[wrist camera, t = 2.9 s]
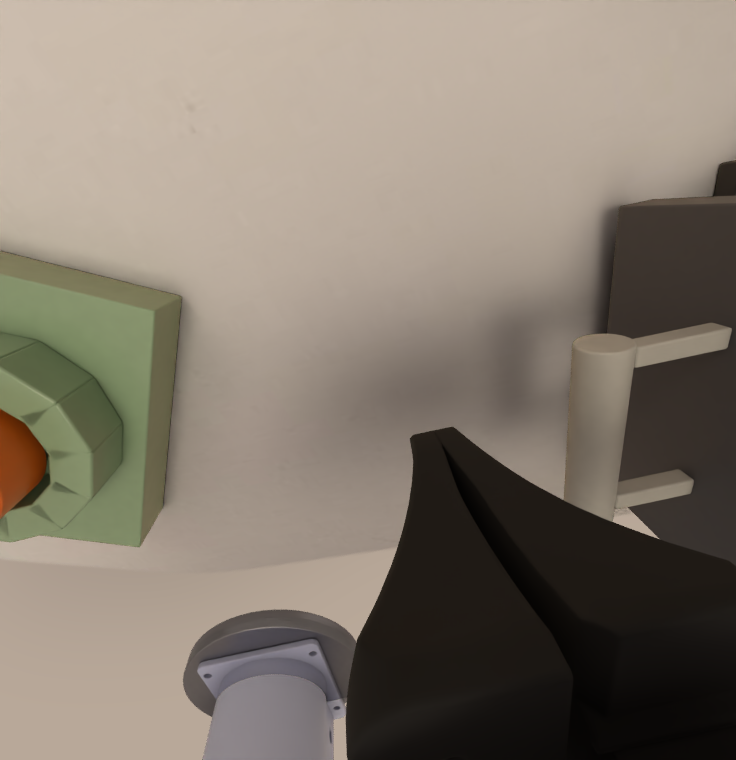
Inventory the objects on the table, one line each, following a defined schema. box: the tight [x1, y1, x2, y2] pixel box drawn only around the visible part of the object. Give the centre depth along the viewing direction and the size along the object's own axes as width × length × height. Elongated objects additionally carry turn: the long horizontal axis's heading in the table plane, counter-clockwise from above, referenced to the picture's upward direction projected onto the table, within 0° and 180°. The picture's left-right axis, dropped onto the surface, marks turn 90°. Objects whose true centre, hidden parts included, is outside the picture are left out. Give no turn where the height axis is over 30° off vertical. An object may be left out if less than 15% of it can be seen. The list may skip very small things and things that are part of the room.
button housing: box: [0, 251, 181, 547], centre depth 12 cm, size 10×8×4 cm
